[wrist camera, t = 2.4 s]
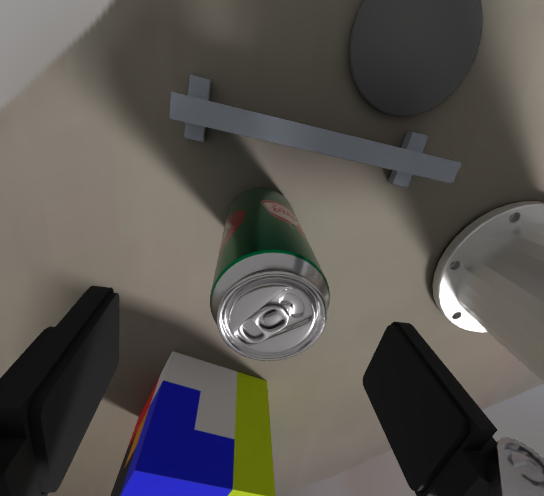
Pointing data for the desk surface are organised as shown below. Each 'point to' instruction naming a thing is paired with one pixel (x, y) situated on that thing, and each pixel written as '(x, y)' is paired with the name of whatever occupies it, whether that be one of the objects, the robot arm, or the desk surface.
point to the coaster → (412, 51)
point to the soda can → (267, 280)
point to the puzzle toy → (200, 435)
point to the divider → (307, 136)
